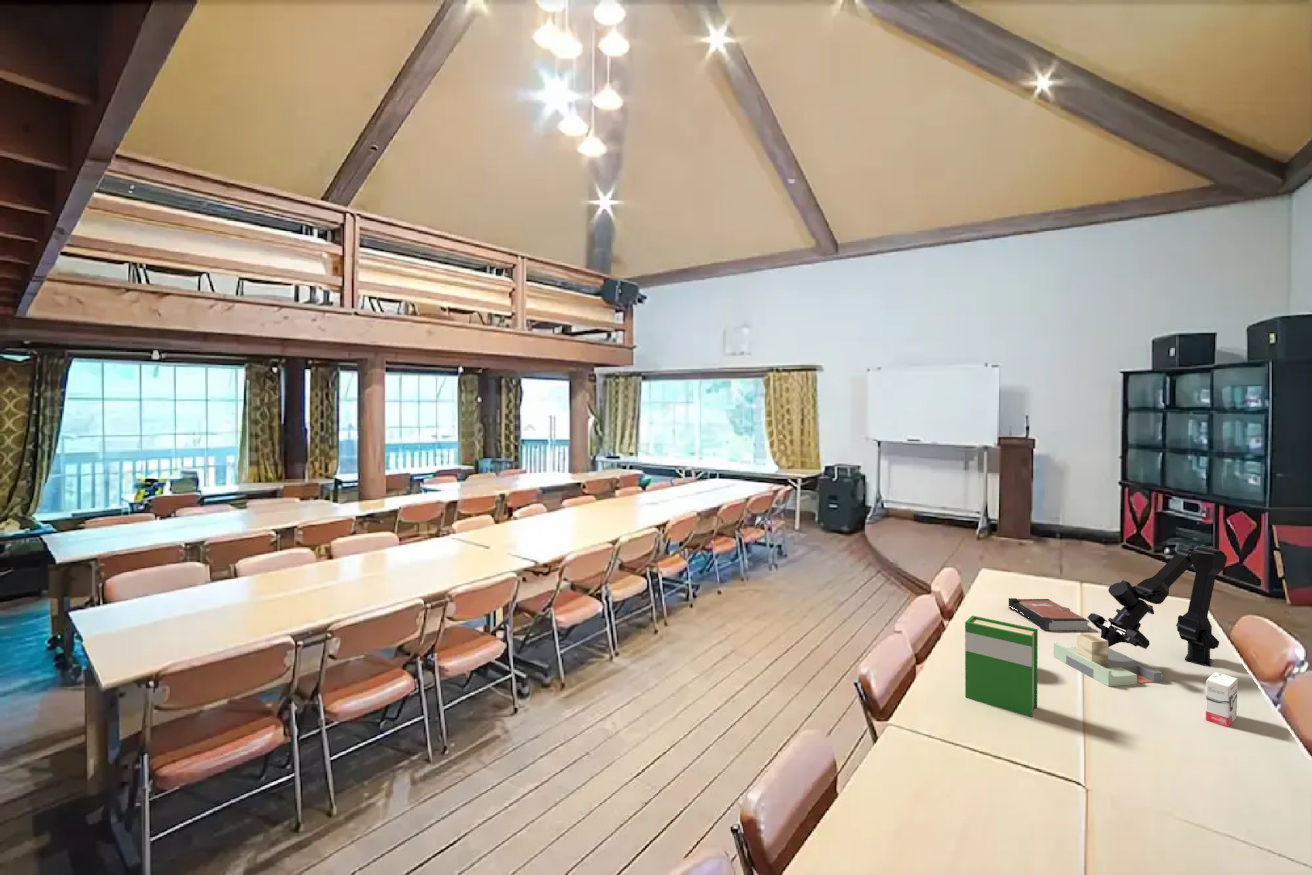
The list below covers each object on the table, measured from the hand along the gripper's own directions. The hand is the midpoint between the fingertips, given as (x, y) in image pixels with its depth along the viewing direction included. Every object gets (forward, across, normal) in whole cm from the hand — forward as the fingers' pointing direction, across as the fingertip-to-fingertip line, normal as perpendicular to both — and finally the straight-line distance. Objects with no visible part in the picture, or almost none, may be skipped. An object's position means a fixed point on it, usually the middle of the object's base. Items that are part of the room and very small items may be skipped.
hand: (1101, 648), depth 194 cm
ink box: (+1, -33, -10) cm, 34 cm away
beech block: (+5, 0, -1) cm, 5 cm away
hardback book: (+39, -14, +28) cm, 50 cm away
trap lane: (+4, 0, -6) cm, 7 cm away
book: (-7, +44, -18) cm, 48 cm away
